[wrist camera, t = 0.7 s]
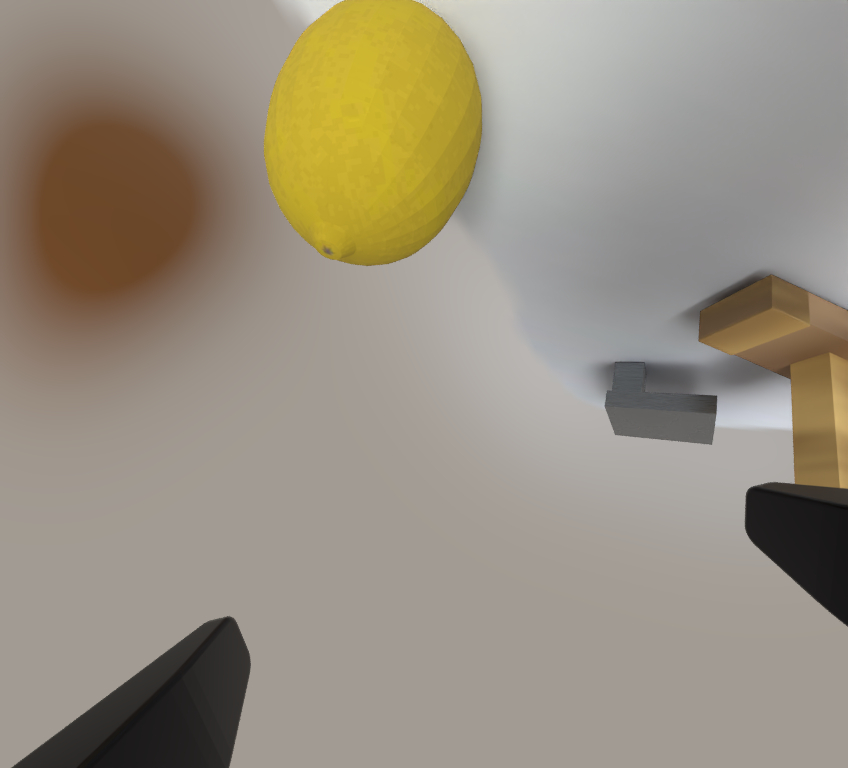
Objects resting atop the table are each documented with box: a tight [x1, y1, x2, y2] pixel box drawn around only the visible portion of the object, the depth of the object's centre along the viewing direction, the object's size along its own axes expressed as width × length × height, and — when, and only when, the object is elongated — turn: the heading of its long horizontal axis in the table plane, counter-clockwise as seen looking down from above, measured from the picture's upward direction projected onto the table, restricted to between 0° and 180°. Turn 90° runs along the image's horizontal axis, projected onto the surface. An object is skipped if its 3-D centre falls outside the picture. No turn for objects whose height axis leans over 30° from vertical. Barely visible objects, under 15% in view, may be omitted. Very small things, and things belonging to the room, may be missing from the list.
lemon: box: [264, 0, 482, 266], centre depth 11 cm, size 6×6×8 cm
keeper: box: [605, 362, 717, 445], centre depth 25 cm, size 5×5×4 cm
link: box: [699, 274, 848, 489], centre depth 17 cm, size 9×3×10 cm, turn 75°
